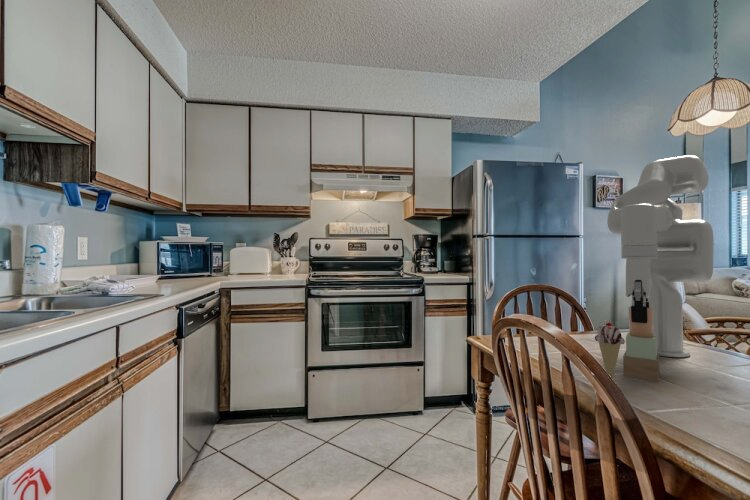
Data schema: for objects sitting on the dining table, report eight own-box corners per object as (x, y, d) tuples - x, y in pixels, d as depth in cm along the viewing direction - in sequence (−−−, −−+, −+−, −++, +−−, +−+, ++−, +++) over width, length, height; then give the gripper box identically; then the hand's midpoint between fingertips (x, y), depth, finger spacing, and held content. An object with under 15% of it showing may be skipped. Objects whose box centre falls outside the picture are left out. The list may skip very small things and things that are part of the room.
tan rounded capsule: (629, 332, 97) (629, 306, 97) (653, 334, 94) (652, 307, 94) (628, 336, 93) (627, 308, 93) (653, 338, 90) (652, 310, 90)
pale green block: (628, 351, 97) (627, 332, 97) (656, 355, 94) (656, 335, 94) (626, 356, 93) (625, 336, 93) (656, 360, 89) (655, 339, 89)
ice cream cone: (630, 393, 81) (628, 324, 81) (601, 391, 82) (600, 324, 82) (618, 384, 86) (617, 320, 87) (591, 383, 87) (590, 319, 88)
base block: (626, 369, 98) (626, 350, 98) (659, 374, 94) (659, 354, 94) (623, 376, 93) (623, 356, 93) (658, 381, 88) (658, 360, 88)
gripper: (624, 252, 103) (626, 313, 103) (617, 253, 90) (619, 323, 89) (658, 252, 98) (660, 316, 98) (656, 252, 85) (658, 326, 85)
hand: (640, 319), depth 94 cm, fingers open, 9 cm apart
